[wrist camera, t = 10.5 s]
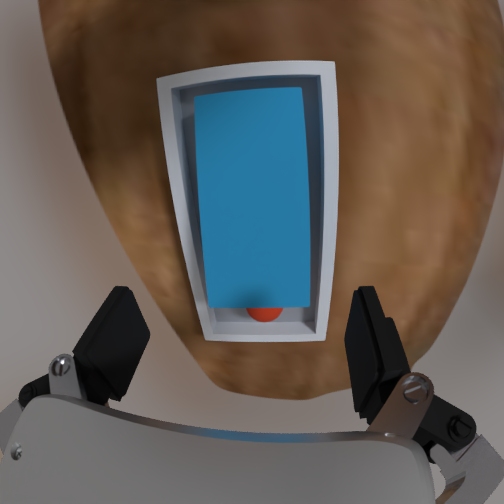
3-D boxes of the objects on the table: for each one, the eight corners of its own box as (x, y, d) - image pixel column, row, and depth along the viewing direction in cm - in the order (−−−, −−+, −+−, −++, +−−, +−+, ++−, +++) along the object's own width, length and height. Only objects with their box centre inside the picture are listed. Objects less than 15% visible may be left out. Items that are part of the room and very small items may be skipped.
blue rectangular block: (218, 119, 22) (230, 312, 26) (194, 96, 16) (214, 351, 20) (296, 114, 22) (302, 311, 26) (301, 87, 15) (307, 352, 19)
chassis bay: (168, 80, 17) (156, 78, 15) (328, 66, 16) (334, 61, 14) (209, 324, 29) (205, 340, 27) (322, 323, 28) (325, 340, 25)
